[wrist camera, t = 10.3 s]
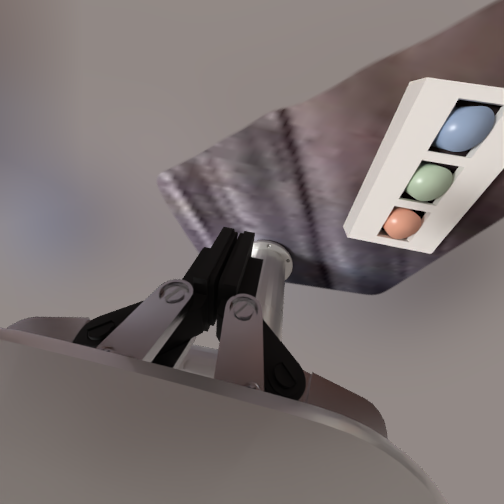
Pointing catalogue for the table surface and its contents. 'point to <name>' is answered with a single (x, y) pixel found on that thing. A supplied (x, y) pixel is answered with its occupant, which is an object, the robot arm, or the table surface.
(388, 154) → the button box
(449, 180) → the sage button
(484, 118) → the slate button
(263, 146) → the table surface
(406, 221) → the terracotta button
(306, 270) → the table surface
